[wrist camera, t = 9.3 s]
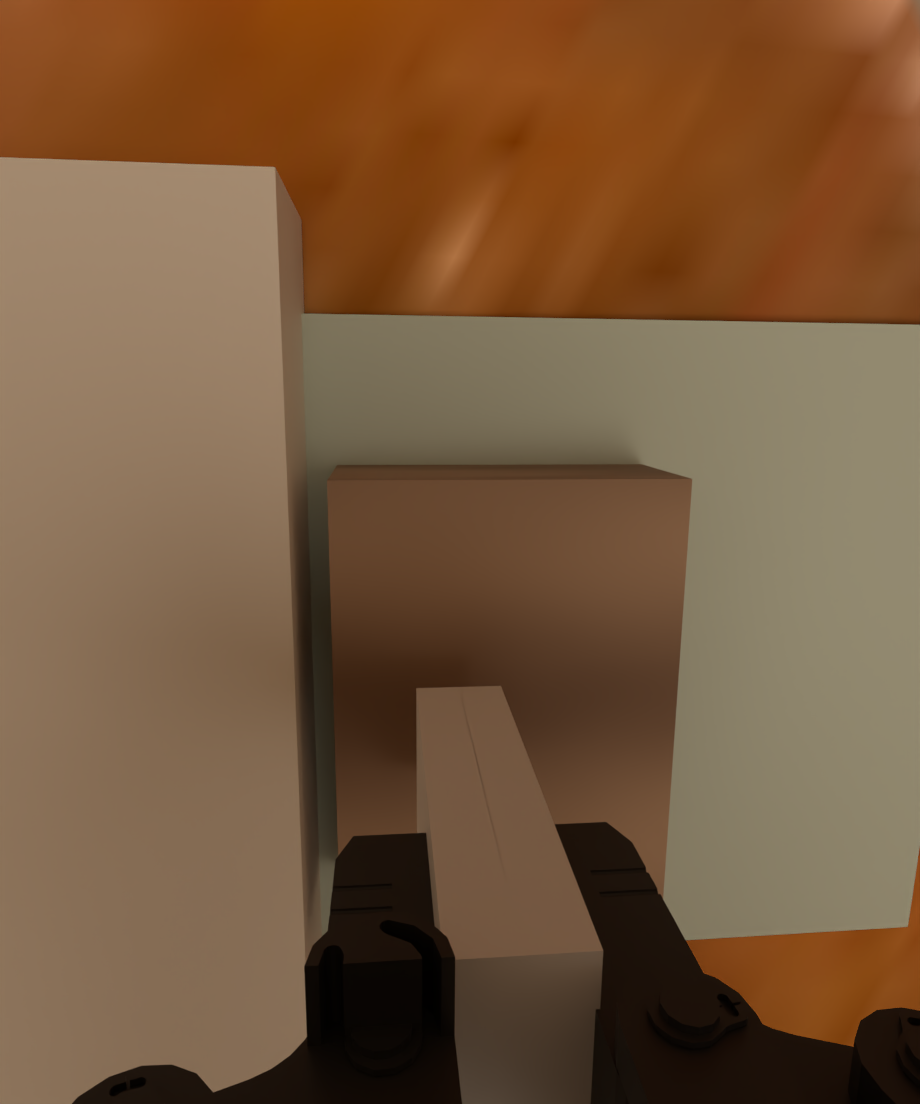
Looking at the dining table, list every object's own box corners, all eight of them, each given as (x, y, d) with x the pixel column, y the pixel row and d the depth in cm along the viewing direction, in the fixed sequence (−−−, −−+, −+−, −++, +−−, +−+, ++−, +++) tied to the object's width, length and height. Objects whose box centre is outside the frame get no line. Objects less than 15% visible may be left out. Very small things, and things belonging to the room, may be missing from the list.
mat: (894, 912, 22) (907, 926, 21) (324, 945, 20) (322, 962, 20) (977, 328, 18) (996, 326, 18) (304, 316, 17) (301, 313, 16)
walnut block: (620, 851, 20) (661, 930, 17) (347, 864, 19) (340, 949, 16) (641, 464, 18) (692, 478, 15) (336, 464, 17) (327, 480, 14)
